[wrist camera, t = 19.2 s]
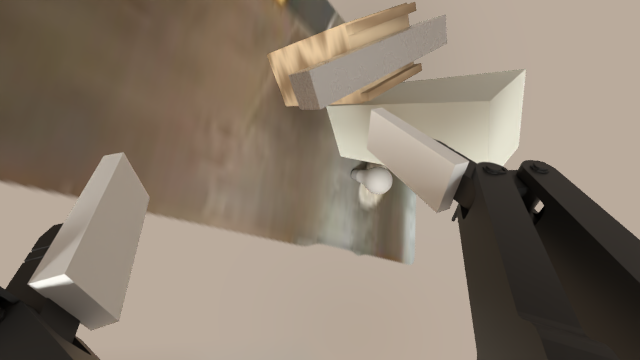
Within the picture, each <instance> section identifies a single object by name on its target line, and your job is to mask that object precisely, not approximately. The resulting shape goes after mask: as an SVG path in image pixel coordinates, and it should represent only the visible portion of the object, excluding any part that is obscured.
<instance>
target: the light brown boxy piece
mask: <svg viewBox="0 0 640 360" xmlns="http://www.w3.org/2000/svg"><path fill="white" fill-rule="evenodd" d="M414 11H416V4H415V2H413V3H410V4H407V3H404V4H401V5H398V6H395V7H392V8H389V9H386V10H383V11H380V12H377V13H374V14H371V15H368V16H365V17H362V18H359V19H356V20H353V21H350V22H347V23H344V24H342V25H339V26H337V27H334V28H332V29H329V30H327V31H324V32H322V33H319V34H317V35H314V36H312V37H309V38H306V39H304V40H301V41H299V42H296V43H294V44H291V45H289V46H286V47H284V48H281V49H279V50H276V51H274V52H271V53H269V54H267V57H268V59H269V62H270V65H271V67H272V70H273V73H274V75H275V78H276V81H277V83H278V86H279V89H280V92H281V94H282V97H283V100H284V102H285V105H286V106H299V105H298V102H297V99H296V96H295V94H294V91H293V88H292V85H291V82H290V79H289V76H288V75H290V74H293V73H295V72H298V71H300V70H303V69H305V68H308V67H310V66H313V65H315V64H317V63H320V62H322V61H325V60H327V59H330V58H332V57H335V56H337V55H340V54H342V53H345V52H347V51H350V50H352V49H355V48H357V47H360V46H362V45H365V44H367V43H370V42H372V41H375V40H377V39H380V38H382V37H385V36H387V35H390V34H392V33H395V32H397V31H400V30H402V29H405V28H407V27H409V19H408V14H409V13H411V12H414ZM420 71H422V66H421V63H419V64H413V62H411V63H409V64H407V65H405V66H403V67H401V68H399V69H397V70H395V71H393V72H391V73H389V74H388V75H386V76H384V77H382V78H380V79H378V80H376V81H374V82H372V83H370V84H368V85H366V86H365V87H363V88H361V89H359V90H357V91H355V92H353V93H351V94H349V95H347V96H345V97H343V98H341V99H340V100H338V101H336V102H334V103H332V104H358V103H364V102H365V101H370V100H372V99H374V98H375V97H377V96H379V95H380V94H382V93H384V92H386V91H387V90H389V89H391V88H393V87H394V86H396V85H398V84H399V83H401V82H403V81H405V80H406V79H408V78H410V77H412V76H413V75H415V74H417V73H418V72H420ZM332 104H330V105H332Z"/></svg>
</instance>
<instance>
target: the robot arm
mask: <svg viewBox="0 0 640 360" xmlns="http://www.w3.org/2000/svg"><path fill="white" fill-rule="evenodd" d="M367 149H368V150H369V151H370V152H371V153H372V154H373V155H374V156H375V157H376V158H377V159H378V160H380V161H381V162H382V163H383V164H384V165H385V166H386V167H387V168H388V169H389V170H390V171H392V172H393V173H394V174H395V175H396V176H397V177H398V178H399V179H400V180H401V181H402V182H404V183H405V184H406V185H407V186H408V187H409V188H410V189H411V190H412V191H413V192H414V193H416V194H417V195H418V196H419V197H420V198H421V199H422V200H423V201H424V202H426V204H428V205H429V206H430V207H431V208H432V209H433V210H434V211H435V212H436V213H438V212H441V211H444V210H447V209H449V208H450V206H451V204H452V201H453V199H454V200H456V201H457V202H458V203H459V204H458V206H457V209H456V211H455V213H454V215H453V217H452V221H455V218H457V217H458V223H459V229H460V236H461V243H462V250H463V257H464V265H465V271H466V278H467V285H468V292H469V299H470V306H471V313H472V319H473V327H474V334H475V341H476V348H477V360H640V240H639V239H638V238H637V237H636V236H634V235H633V234H632V233H631V232H630V231H628V230H627V229H626V228H625V227H623V225H621V224H620V223H619V222H618V221H617V220H615V219H614V218H613V217H612V216H611V215H610V214H608V213H607V212H606V211H605V210H603V209H602V208H601V207H600V206H599V205H598V204H597V203H595V202H594V201H593V200H592V199H591V198H589V197H588V196H587V195H586V194H585V193H583V192H582V191H581V190H580V189H579V188H577V187H576V186H575V185H574V184H573V183H571V181H569V180H568V179H567V178H566V177H565V176H563V175H562V174H561V173H560V172H559V171H557V170H556V169H555V168H553V167H552V166H550V165H548V164H546V163H544V162H540V161H533V160H528V161H524V162H522V164H521V166H520V167H519V169H518V170H507V169H506V168H504V167H503V166H501V165H498V164H496V163H491V162H479V163H478V164H477V163H475V162H474V161H472V160H471V159H469V158H467V157H466V156H464V155H462V154H461V153H459V152H457V151H455V150H454V149H452V148H451V147H448V146H447V145H446V144H444V143H442V142H441V141H438V140H435V139H432V138H431V137H429V136H427V135H426V134H424V133H422V132H421V131H419V130H418V129H416V128H414V127H413V126H411V125H409V124H408V123H406V122H405V121H403V120H401V119H400V118H398V117H396V116H395V115H393V114H392V113H390V112H388V111H387V110H385V109H383V108H377V109H371V116H370V125H369V133H368V142H367ZM149 198H150V197H149V195H148V194H147V192H146V190H145V189H144V187H143V185H142V183H141V182H140V180H139V178H138V177H137V175H136V173H135V171H134V170H133V168H132V166H131V164H130V163H129V161H128V159H127V158H126V156H125V154H124V152H123V153H117V154H112V155H106V156H104V157H103V158H102V160H101V162H100V163H99V165H98V167H97V168H96V170H95V172H94V173H93V175H92V177H91V178H90V180H89V182H88V183H87V185H86V187H85V188H84V190H83V192H82V193H81V195H80V197H79V198H78V200H77V202H76V203H75V205H74V207H73V209H72V210H71V212H70V214H69V215H68V217H67V219H66V220H65V222H64V223H62V224H58V225H54V226H53V227H51V228H50V229H49V230H48V231H47V232H45V233H44V234H43V235H42V236H41V237H40V238H39V239H38V241H37V242H36V244H35V245H34V247H33V248H32V252H30V253H29V254H28V256H27V258H26V259H25V263H23V264H22V265H21V266H20V268H19V270H18V271H17V273H16V274H15V275H14V277H13V279H12V280H11V282H10V283H9V285H8V286H7V288H6V289H3V288H2V287H0V360H100V359H99V358H98V357H97V356H96V355H95V354H94V353H93V352H92V351H91V349H90V348H89V347H88V346H87V345H86V344H85V343H84V342H83V341H82V340H81V339H79V338H78V337H76V336H75V335H76V332H77V329H78V326H79V324H80V323H81V324H83V325H84V326H85V327H87V328H88V329H90V330H94V329H97V328H100V327H103V326H106V325H109V324H112V323H115V322H118V321H119V318H120V314H121V311H122V307H123V302H124V298H125V294H126V290H127V286H128V282H129V278H130V274H131V270H132V266H133V262H134V258H135V254H136V250H137V246H138V242H139V238H140V234H141V230H142V226H143V222H144V217H145V214H146V210H147V206H148V202H149ZM540 200H541V202H542V203H543V204H544V207H543V208H542V210H541V211H540V212H539V213H538V212H537V211H536V210H535V209H534V208H535V206H536V205H537V204H538V202H539V201H540Z"/></svg>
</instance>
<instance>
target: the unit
mask: <svg viewBox="0 0 640 360" xmlns="http://www.w3.org/2000/svg"><path fill="white" fill-rule="evenodd" d="M525 72H526V69H522V70H512V71H503V72H494V73H484V74H476V75H466V76H456V77H447V78H437V79H428V80H419V81H411V82H401V83H399V84H398V85H396V86H394V87H393V88H391V89H389V90H387V91H386V92H384V93H382V94H380V95H379V96H377V97H375V98H374V99H372V100H370V101H365V102H364V103H358V104H332V105H328V106H326V108H327V111H328V115H329V118H330V121H331V125H332V128H333V132H334V135H335V138H336V142H337V145H338V149H339V152H340V155H341V157H347V158H352V159H357V160H362V161H367V162H372V163H377V164H382V165H384V164H383V163H382V162H381V161H380V160H378V159H377V158H376V157H375V156H374V155H373V154H372V153H371V152H370V151H369V150H368V149H367V142H368V133H369V125H370V116H371V109H377V108H383V109H385V110H387V111H388V112H390V113H392V114H393V115H395V116H396V117H398V118H400V119H401V120H403V121H405V122H406V123H408V124H409V125H411V126H413V127H414V128H416V129H418V130H419V131H421V132H422V133H424V134H426V135H427V136H429V137H431V138H432V139H435V140H438V141H441V142H442V143H444V144H446V145H447V146H448V147H451V148H452V149H454V150H455V151H457V152H459V153H461V154H462V155H464V156H466V157H467V158H469V159H471V160H472V161H474V162H475V163H477V164H478V163H479V162H491V163H496V164H498V165H501V166H503V165H504V164H505V163H506V162H507V160H508V159H509V158H510V157H511V155H512V154H513V153H514V151H515V150H516V149H517V148H518V146H519V136H520V126H521V114H522V104H523V94H524V83H525Z"/></svg>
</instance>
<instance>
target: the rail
mask: <svg viewBox="0 0 640 360" xmlns="http://www.w3.org/2000/svg"><path fill="white" fill-rule="evenodd" d="M445 44H447V35H446V15H442V16H439V17H436V18H433V19H429V20H426V21H423V22H420V23H417V24H415V25H413V26H410V27H407V28H405V29H402V30H400V31H397V32H395V33H392V34H390V35H387V36H385V37H382V38H380V39H377V40H375V41H372V42H370V43H367V44H365V45H362V46H360V47H357V48H355V49H352V50H350V51H347V52H345V53H342V54H340V55H337V56H335V57H332V58H330V59H327V60H325V61H322V62H320V63H317V64H315V65H313V66H310V67H308V68H305V69H303V70H300V71H298V72H295V73H293V74H290V75H288V76H289V79H290V82H291V85H292V88H293V91H294V94H295V96H296V99H297V102H298V105H299V108H300V110H311V109H322V108H324V107H326V106H328V105H330V104H332V103H334V102H336V101H338V100H340V99H341V98H343V97H345V96H347V95H349V94H351V93H353V92H355V91H357V90H359V89H361V88H363V87H365V86H366V85H368V84H370V83H372V82H374V81H376V80H378V79H380V78H382V77H384V76H386V75H388V74H389V73H391V72H393V71H395V70H397V69H399V68H401V67H403V66H405V65H407V64H409V63H411V62H413V61H414V60H416V59H418V58H420V57H422V56H424V55H426V54H428V53H430V52H432V51H434V50H436V49H437V48H439V47H441V46H443V45H445Z"/></svg>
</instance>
